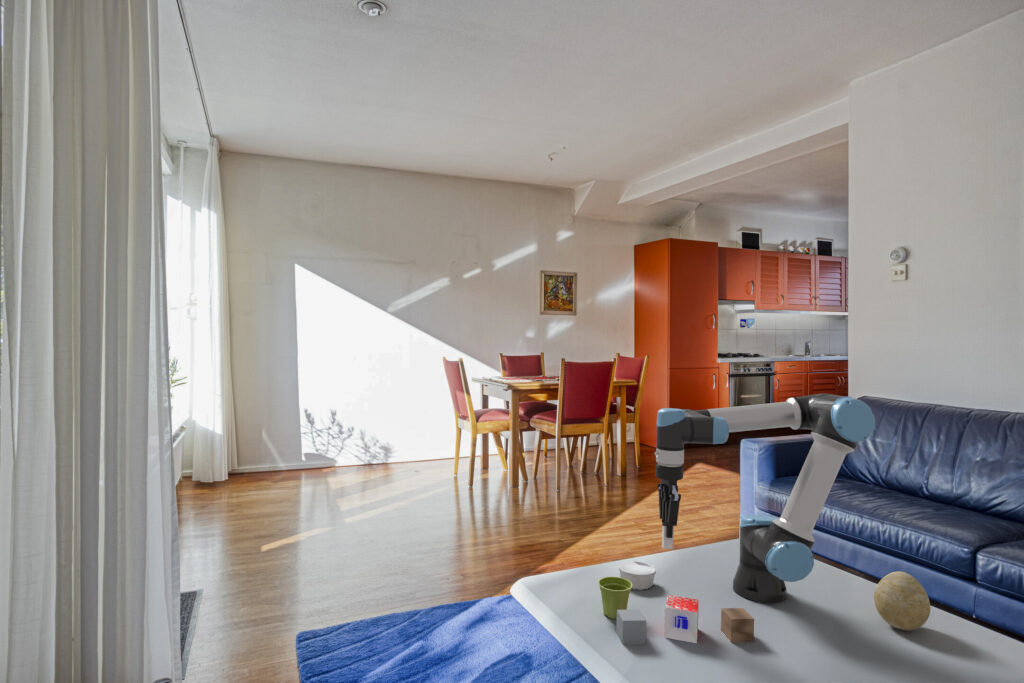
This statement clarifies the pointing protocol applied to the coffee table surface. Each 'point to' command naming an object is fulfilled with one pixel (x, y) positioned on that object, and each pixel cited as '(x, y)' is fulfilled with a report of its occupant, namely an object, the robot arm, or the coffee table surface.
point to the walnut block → (737, 624)
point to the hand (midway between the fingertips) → (667, 547)
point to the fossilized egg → (902, 601)
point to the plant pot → (614, 594)
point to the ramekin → (637, 574)
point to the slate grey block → (631, 627)
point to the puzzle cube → (681, 618)
